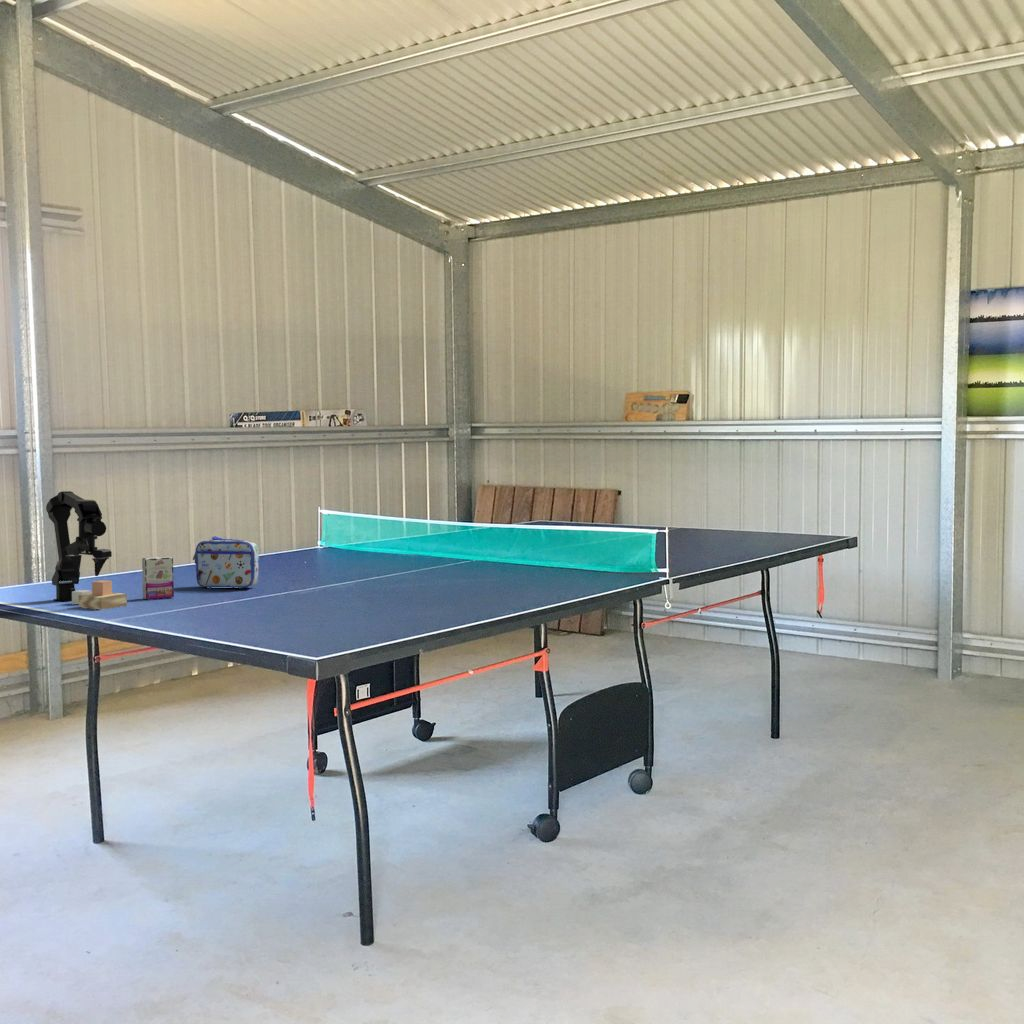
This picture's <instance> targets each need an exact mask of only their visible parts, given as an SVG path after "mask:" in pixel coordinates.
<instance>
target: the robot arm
mask: <svg viewBox="0 0 1024 1024" xmlns="http://www.w3.org/2000/svg"><path fill="white" fill-rule="evenodd" d="M73 509H74V513H75V514H76V515H77V518H76V521H77V522H78V536H76V537H75V541H73V542H71V540H70V534H69V532H70V531H69V526H68V525H69V524H68V521H69V519H70V517H71V514H72V513H71V511H72V510H73ZM45 510H46V513H47V514H48V515H47V516H48V519H49V520H50V521H51V522H52V524H53V527H54V533H55V540H56V548H57V556H58V560H57V563H56V565H55V567H54V570H55V572H54V573H53V574H52V578H51V584H52V585H53V586H55V588H56V589H55V590H56V592H55V593H56V595H55V596H56V597H55V598H53V599H52V600H53V601H55V600H59V601H58V602H69V601H71V602H72V591H76V587H75V585H79V581H80V577H81V576H80V575H81V572H80V571H81V570H80V569H81V562H82V555H86V556H87V555H88V556H92V557H93V558H92V561H93V562H94V575H95V577H98V576H99V574H100V573H101V571H102V568H103V566H104V564H105V563H106V561H107V560H109V558H111V557H112V555H113V553H112V550H111V549H107V548H106V549H105V548H99V549H98V546H96V540H98V537H101V536H103V535H105V533H106V532H107V525H106V523H105V522H103V521H102V519H103V514H102V511H101V509H100V507H99V504H98V502H97V501H96V500H94V499H84V498H83V497H80V496H79V495H77V494H75V493H74V491H71V490H70V491H69V490H68V491H65V490H63V491H60V492H58V493H57V494H56V495H55V496H53V497H52V498H50V499H49V500H48V502H47V503H46V506H45Z"/></svg>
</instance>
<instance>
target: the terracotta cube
mask: <svg viewBox="0 0 1024 1024" xmlns="http://www.w3.org/2000/svg"><path fill="white" fill-rule="evenodd" d="M91 591H92V595H99V596H104V595H110V594H112V592H113V580H106V579H105V580H103V579H101V580H93V581H91Z"/></svg>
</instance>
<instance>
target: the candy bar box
mask: <svg viewBox="0 0 1024 1024" xmlns="http://www.w3.org/2000/svg"><path fill="white" fill-rule="evenodd" d="M141 564H142V565H141V567H142V570H141V571H142V573H141V574H142V575H141V577H142V599H143V598H144V599H143V600H145V599H154V600H160V599H159V598H166V599H173V598H172V597H174V598H175V595H174V594H175V589H174V588H175V587H174V557H172V556H158V557H156V556H155V557H142V559H141Z"/></svg>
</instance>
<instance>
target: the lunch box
mask: <svg viewBox="0 0 1024 1024" xmlns="http://www.w3.org/2000/svg"><path fill="white" fill-rule="evenodd" d="M259 550H260V549H259V546H258V545H257V543H255V542H253V541H250V540H242V539H241V540H240V539H233V538H222V537H218V536H215V535H214V536H212V537H211V539H208V540H202V541H200V542H198V544H196V547H195V551H194V554H193V557H192V560H193V561H194V564H195V571H196V572H195V573H196V576H195V577H196V582H197V585H198V586H199V587H201V588H203V587H239V589H246V588H250V587H253V586H255V585H256V584H257V583H258V581H259V557H260V555H259V554H260V551H259ZM249 586H250V587H249Z"/></svg>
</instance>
